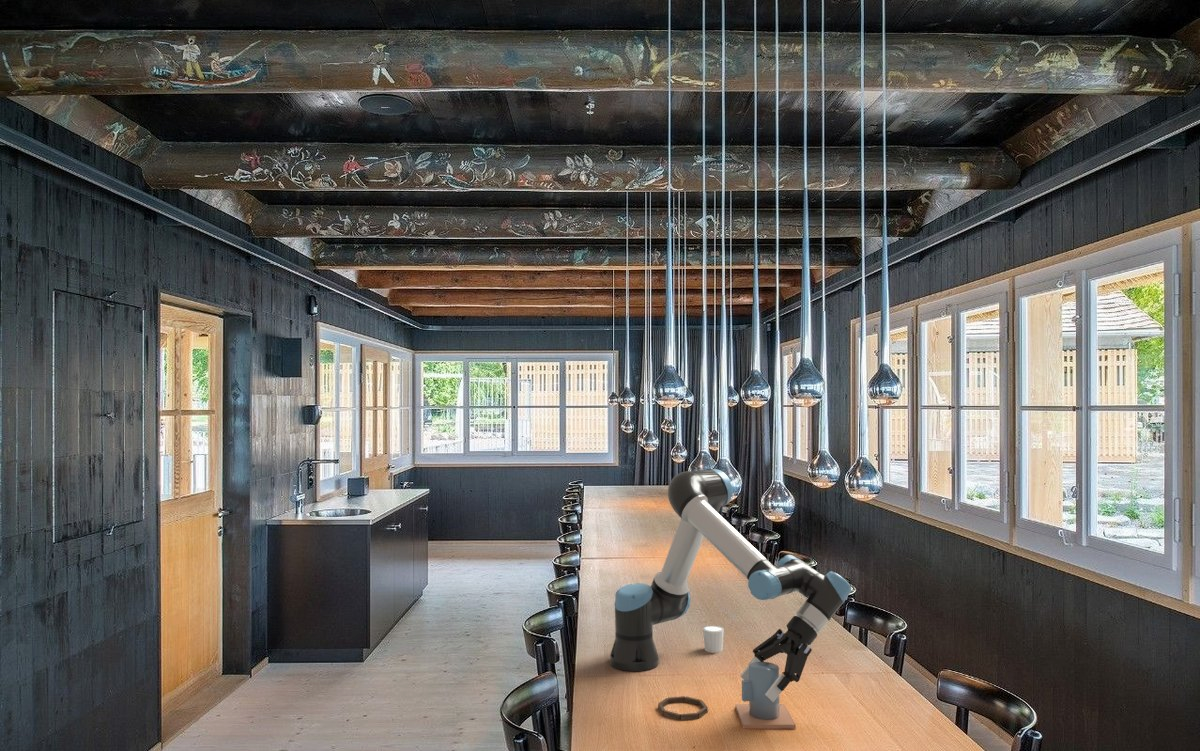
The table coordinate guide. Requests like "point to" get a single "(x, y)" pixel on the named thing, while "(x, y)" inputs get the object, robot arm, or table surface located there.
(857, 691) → the table surface
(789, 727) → the terracotta tile
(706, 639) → the white tapered cylinder
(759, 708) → the grey canister
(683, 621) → the table surface
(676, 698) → the walnut collar
